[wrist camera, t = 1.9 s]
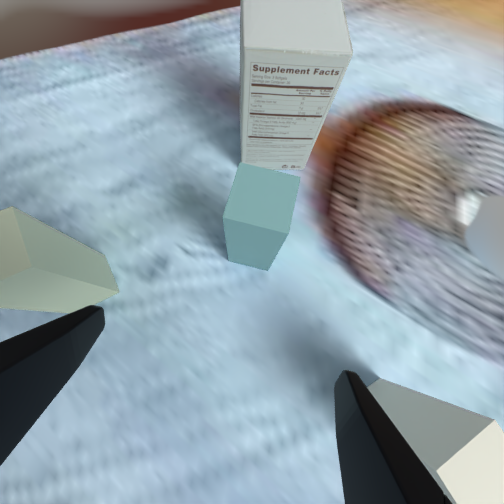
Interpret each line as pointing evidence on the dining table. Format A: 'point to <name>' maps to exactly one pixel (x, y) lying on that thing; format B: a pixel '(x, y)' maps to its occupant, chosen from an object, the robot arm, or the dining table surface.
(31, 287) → the sage post
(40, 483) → the dining table surface
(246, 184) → the teal post
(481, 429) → the off-white post
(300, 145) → the supplement box
